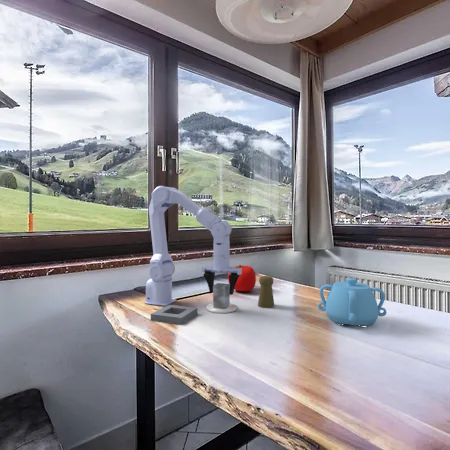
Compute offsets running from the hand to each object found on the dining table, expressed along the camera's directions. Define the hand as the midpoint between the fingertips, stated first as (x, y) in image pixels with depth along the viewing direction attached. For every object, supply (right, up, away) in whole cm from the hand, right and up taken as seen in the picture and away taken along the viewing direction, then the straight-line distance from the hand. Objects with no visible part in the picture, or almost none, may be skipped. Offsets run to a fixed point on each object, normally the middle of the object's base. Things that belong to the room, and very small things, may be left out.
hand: (221, 293), depth 114 cm
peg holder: (-15, -6, -9) cm, 19 cm away
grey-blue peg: (0, -5, 0) cm, 5 cm away
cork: (+16, -6, +3) cm, 18 cm away
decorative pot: (+41, -6, -14) cm, 44 cm away
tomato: (+9, -5, +26) cm, 28 cm away
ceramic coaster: (0, -6, 0) cm, 6 cm away
